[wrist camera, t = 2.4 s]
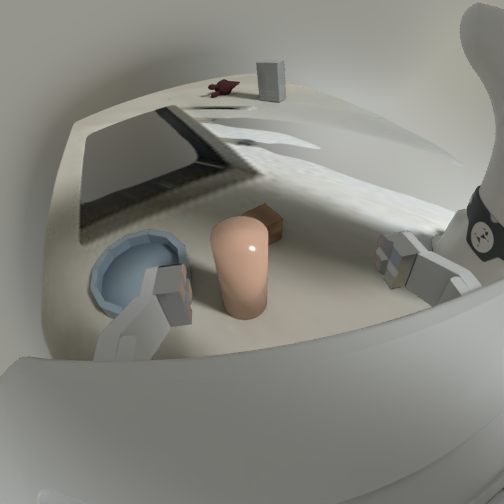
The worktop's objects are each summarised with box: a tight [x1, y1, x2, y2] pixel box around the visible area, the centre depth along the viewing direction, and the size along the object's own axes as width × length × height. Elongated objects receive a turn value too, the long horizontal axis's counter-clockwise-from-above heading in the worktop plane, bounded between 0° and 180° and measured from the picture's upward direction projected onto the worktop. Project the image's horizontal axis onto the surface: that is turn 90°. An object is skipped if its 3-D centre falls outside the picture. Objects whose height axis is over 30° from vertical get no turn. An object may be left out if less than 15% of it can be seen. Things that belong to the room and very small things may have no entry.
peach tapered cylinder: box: [210, 216, 268, 320], centre depth 28 cm, size 5×5×11 cm
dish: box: [90, 229, 191, 319], centre depth 34 cm, size 14×14×2 cm
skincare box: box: [256, 60, 286, 102], centre depth 82 cm, size 8×7×16 cm
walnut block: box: [242, 204, 283, 246], centre depth 38 cm, size 4×4×4 cm
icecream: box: [208, 79, 240, 98], centre depth 94 cm, size 7×7×15 cm
